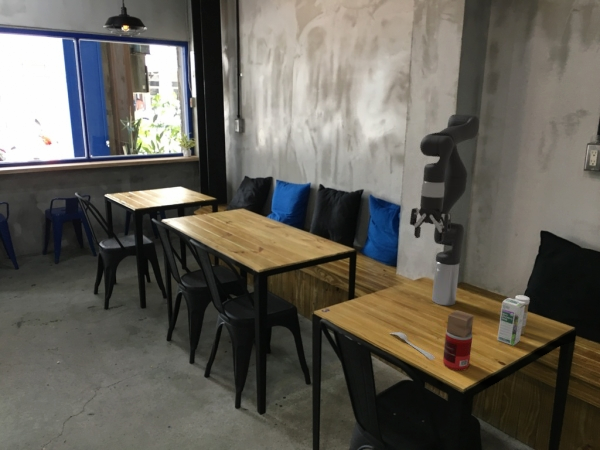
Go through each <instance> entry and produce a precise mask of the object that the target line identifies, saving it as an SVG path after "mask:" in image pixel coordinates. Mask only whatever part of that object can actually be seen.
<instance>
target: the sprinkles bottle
mask: <svg viewBox="0 0 600 450" xmlns="http://www.w3.org/2000/svg"><path fill="white" fill-rule="evenodd" d="M514 299H515V300H518V301H522V302H525V308H524V315H523V322H522V328H521V335H524V334H525V329H526V324H527V318H528V317H527V316H528V313H529V312H528V309H529V304H530V302H531V301H530V300H531V299H530V297H528V296H526V295H523V294H519V295H515V298H514Z"/></svg>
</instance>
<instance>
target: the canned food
mask: <svg viewBox="0 0 600 450" xmlns="http://www.w3.org/2000/svg"><path fill="white" fill-rule="evenodd" d="M472 342H473V331H472V332H471V333H470V334H469V335H467V336H466V337H465V338H463V337H460V336H457V335H454V334H451V333H448V332H447V329H446V331H445V339H444V347H443V348H444V349H443V355H442V362H443V365H444V366H445V367H446V368H448V369H450V370H451V371H452V370H453V371H464V370H467V369H468V368H469V366H470V359H471V352H472V351H471V350H472Z"/></svg>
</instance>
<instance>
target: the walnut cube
mask: <svg viewBox="0 0 600 450" xmlns="http://www.w3.org/2000/svg"><path fill="white" fill-rule="evenodd" d="M473 324H474V314H471V313H467V312H464V311H461V310H458V309H456V310H454V311H453V312H451V313H450V314H448V317H447V327H446V330H447V332H448V333H451V334H454V335H457V336H460V337H463V338H465V337H466V336H467V335H469V334H470V333H471V332H472V333H473Z"/></svg>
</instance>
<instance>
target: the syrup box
mask: <svg viewBox="0 0 600 450" xmlns="http://www.w3.org/2000/svg"><path fill="white" fill-rule="evenodd" d="M501 304H502V305H501V309H500V316H499V317H500V318H499V326H498V333H497V342H498V341H499V342H501V343H504V344H507V345H510V346H512V347H513V346H516V344H517V343H518V342H520V339H521V335H522V334H521V328H522V322H523V315H524V308H525V302H522V301H518V300H515V298H511V297H508V298H506V299H504V300H503V301H502V303H501Z"/></svg>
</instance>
